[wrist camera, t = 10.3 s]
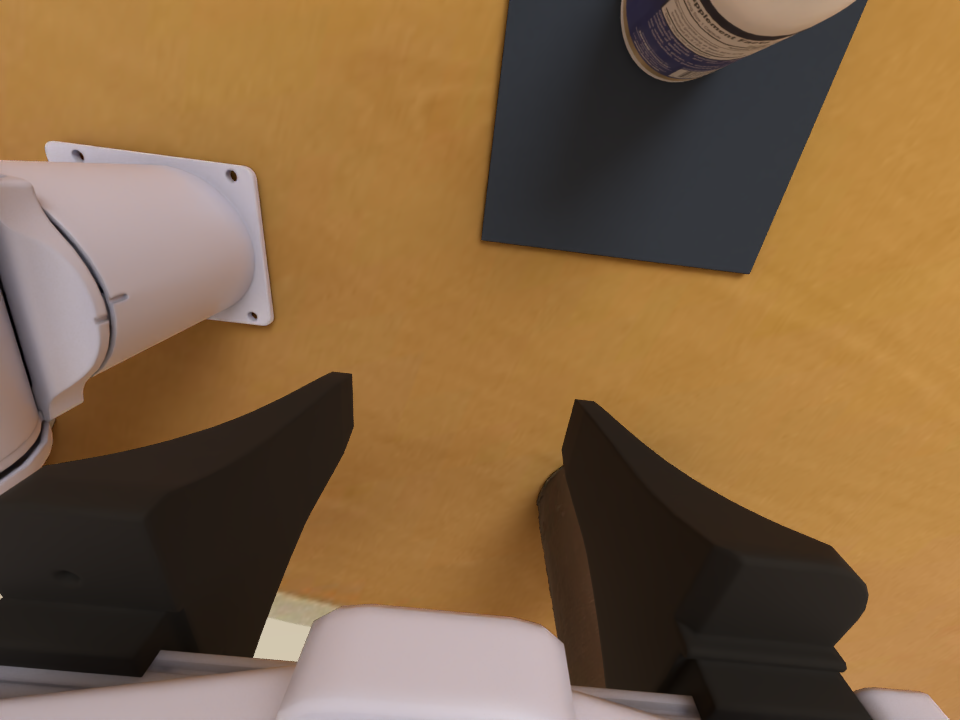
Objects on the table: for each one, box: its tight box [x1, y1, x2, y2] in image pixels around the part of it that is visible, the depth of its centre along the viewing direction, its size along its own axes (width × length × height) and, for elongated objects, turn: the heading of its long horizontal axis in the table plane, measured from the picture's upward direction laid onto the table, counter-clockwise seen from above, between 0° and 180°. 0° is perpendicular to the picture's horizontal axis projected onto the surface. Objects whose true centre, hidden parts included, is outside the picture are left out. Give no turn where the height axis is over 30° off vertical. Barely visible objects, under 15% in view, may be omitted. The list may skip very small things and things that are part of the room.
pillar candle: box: [537, 466, 606, 689], centre depth 21 cm, size 10×10×15 cm
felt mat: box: [481, 0, 868, 274], centre depth 15 cm, size 14×20×1 cm
